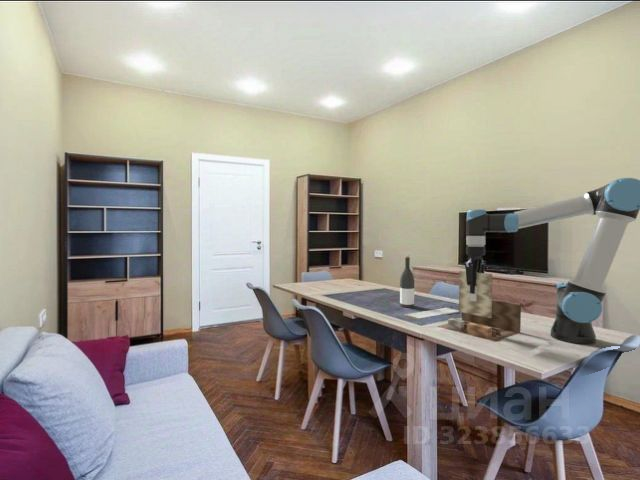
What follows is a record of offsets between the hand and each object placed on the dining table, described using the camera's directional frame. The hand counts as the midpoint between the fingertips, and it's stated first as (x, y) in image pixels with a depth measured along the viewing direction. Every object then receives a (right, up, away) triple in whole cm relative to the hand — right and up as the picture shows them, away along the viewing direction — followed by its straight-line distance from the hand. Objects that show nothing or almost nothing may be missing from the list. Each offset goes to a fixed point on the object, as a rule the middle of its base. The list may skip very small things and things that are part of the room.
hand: (474, 300), depth 148 cm
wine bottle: (-15, -13, +55) cm, 58 cm away
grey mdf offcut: (-7, -13, +2) cm, 15 cm away
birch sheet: (0, -6, 0) cm, 6 cm away
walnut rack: (+2, -14, +2) cm, 15 cm away
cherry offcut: (-1, -13, -7) cm, 15 cm away
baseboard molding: (-7, -14, +36) cm, 39 cm away
